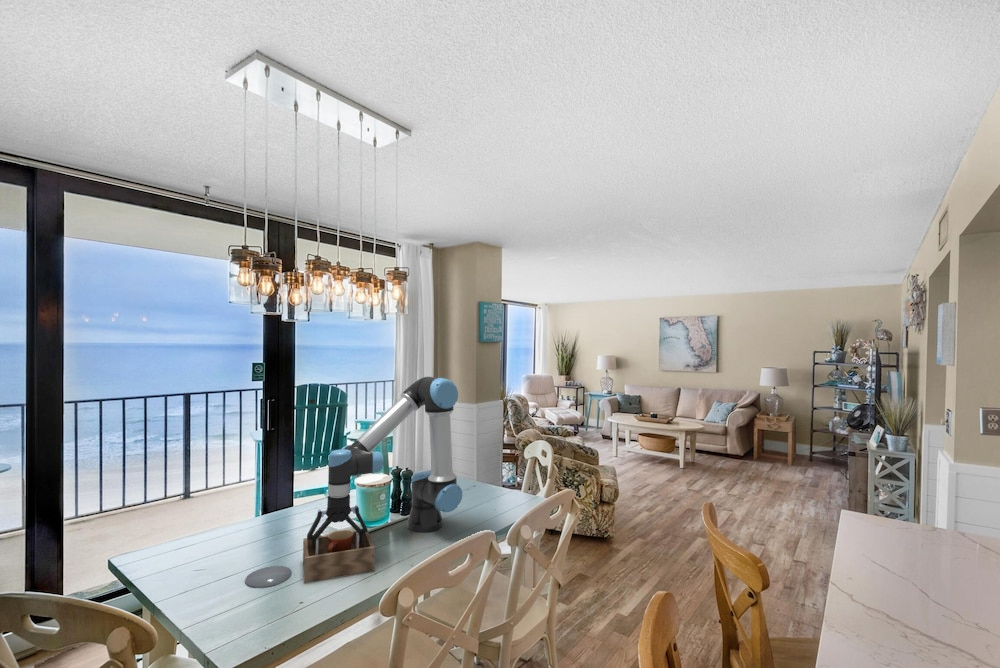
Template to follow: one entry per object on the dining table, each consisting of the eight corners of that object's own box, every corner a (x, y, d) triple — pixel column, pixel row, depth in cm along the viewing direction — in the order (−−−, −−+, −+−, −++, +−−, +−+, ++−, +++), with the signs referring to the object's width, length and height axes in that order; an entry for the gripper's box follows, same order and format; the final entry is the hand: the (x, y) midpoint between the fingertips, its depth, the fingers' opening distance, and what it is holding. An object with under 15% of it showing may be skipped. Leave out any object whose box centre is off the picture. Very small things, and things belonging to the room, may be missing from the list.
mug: (335, 557, 176) (336, 529, 176) (357, 559, 175) (358, 531, 175) (316, 572, 165) (317, 542, 165) (340, 575, 163) (340, 544, 163)
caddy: (366, 550, 182) (367, 529, 182) (374, 570, 166) (374, 547, 166) (303, 560, 173) (303, 538, 173) (304, 583, 157) (304, 558, 157)
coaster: (291, 564, 170) (291, 563, 170) (291, 582, 157) (291, 581, 157) (246, 572, 164) (247, 570, 164) (243, 591, 152) (243, 589, 152)
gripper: (373, 488, 178) (371, 546, 178) (300, 495, 169) (298, 556, 168) (376, 494, 172) (374, 554, 171) (301, 501, 162) (299, 565, 161)
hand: (337, 555), depth 169 cm, fingers open, 13 cm apart
